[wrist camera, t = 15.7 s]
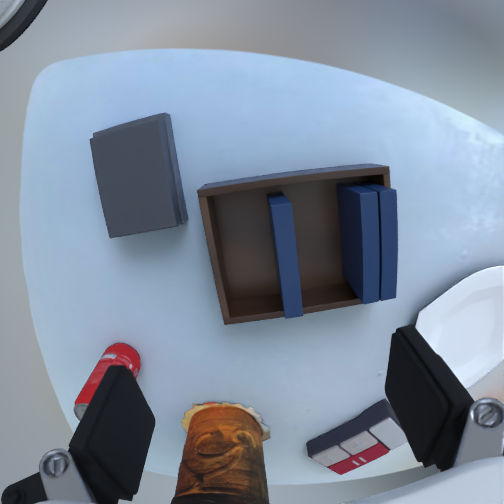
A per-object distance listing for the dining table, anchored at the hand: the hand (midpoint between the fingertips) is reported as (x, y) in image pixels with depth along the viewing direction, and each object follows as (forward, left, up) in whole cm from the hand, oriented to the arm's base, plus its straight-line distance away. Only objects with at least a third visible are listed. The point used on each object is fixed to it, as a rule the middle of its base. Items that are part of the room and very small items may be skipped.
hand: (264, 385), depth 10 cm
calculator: (+38, +12, -23) cm, 46 cm away
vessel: (+30, -9, -23) cm, 39 cm away
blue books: (+2, +11, -22) cm, 25 cm away
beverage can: (+15, -20, -23) cm, 34 cm away
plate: (+21, +29, -23) cm, 43 cm away
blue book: (+2, +2, -23) cm, 23 cm away
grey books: (-7, -11, -23) cm, 26 cm away
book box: (+2, +4, -23) cm, 24 cm away
